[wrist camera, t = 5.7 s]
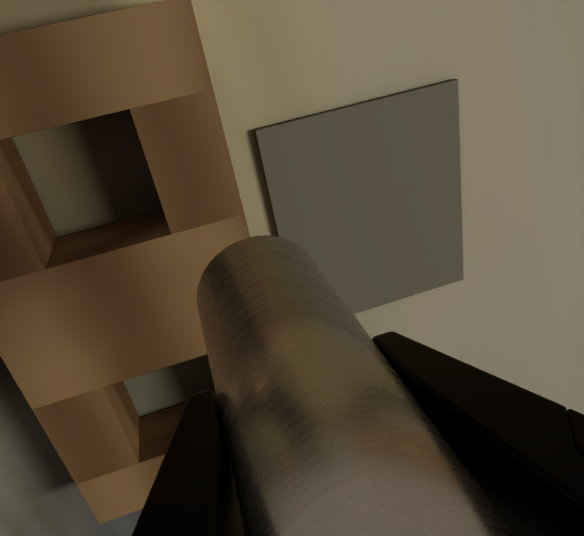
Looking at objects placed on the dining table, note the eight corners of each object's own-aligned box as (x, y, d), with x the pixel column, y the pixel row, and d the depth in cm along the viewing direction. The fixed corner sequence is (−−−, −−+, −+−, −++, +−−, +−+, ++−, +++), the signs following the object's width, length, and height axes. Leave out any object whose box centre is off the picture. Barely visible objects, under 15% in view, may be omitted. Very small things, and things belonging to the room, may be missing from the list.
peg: (311, 220, 11) (849, 850, 3) (328, 326, 13) (718, 956, 4) (180, 256, 11) (348, 1146, 2) (214, 362, 12) (391, 1152, 4)
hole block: (182, -1, 18) (189, -5, 15) (288, 410, 27) (304, 451, 25) (-119, 62, 16) (-169, 69, 14) (103, 473, 26) (99, 523, 23)
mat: (454, 78, 22) (457, 79, 21) (460, 276, 26) (463, 279, 26) (254, 129, 20) (255, 130, 20) (298, 327, 25) (299, 331, 25)
